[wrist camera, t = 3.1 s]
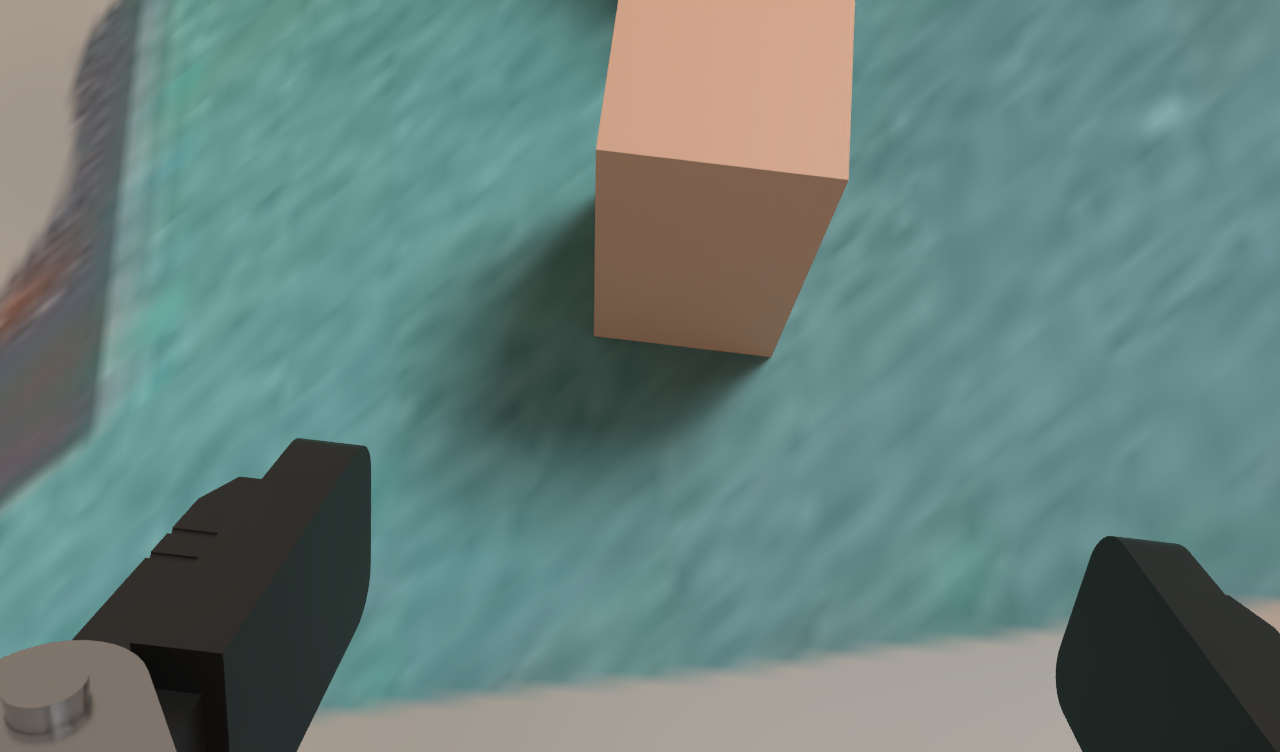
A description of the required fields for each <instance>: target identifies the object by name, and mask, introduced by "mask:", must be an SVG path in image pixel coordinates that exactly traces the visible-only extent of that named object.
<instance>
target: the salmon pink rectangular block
mask: <svg viewBox="0 0 1280 752" xmlns="http://www.w3.org/2000/svg"><path fill="white" fill-rule="evenodd" d="M854 13H855V0H618V6H617V12H616V19H615V26H614V32H613V39H612V46H611V53H610V59H609V66H608V73H607V79H606V86H605V93H604V100H603V106H602V113H601V120H600V126H599V133H598V140H597V147H596V196H595V282H594V336H597V337H606V338H614V339H622V340H631V341H639V342H648V343H656V344H664V345H673V346H681V347H690V348H698V349H706V350H715V351H723V352H732V353H740V354H748V355H757V356H765V357H771V356H772V354H773V352H774V350H775V347H776V345H777V343H778V340H779V338H780V336H781V333H782V331H783V329H784V327H785V324H786V322H787V320H788V317H789V315H790V313H791V311H792V308H793V306H794V304H795V301H796V299H797V297H798V294H799V292H800V290H801V288H802V285H803V283H804V281H805V278H806V276H807V274H808V272H809V269H810V267H811V265H812V262H813V260H814V258H815V256H816V253H817V251H818V249H819V246H820V244H821V242H822V239H823V237H824V235H825V233H826V230H827V228H828V226H829V223H830V221H831V219H832V217H833V214H834V212H835V210H836V207H837V205H838V203H839V200H840V198H841V196H842V194H843V191H844V189H845V187H846V184H847V182H848V180H849V152H850V124H851V96H852V69H853V41H854Z"/></svg>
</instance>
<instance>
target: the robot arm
mask: <svg viewBox="0 0 1280 752" xmlns="http://www.w3.org/2000/svg"><path fill="white" fill-rule="evenodd" d="M370 565H371V460H370V454H369V451H368V449H367V447H365V446H361V445H352V444H344V443H335V442H327V441H319V440H310V439H302V438H297V439H295V440H293V441H292V443H291V444H290V445H289V446H288V447H287V449H286V450H285V451H284V452H283V453H282V455H281V456H280V457H279V458H278V460H277V461H276V462H275V463H274V465H273V466H272V467H271V468H270V470H269V471H268V472H267V473H266V475H265V476H264V477H263V478H262V479H255V478H247V477H238V478H236V479H234V480H232V481H231V482H229V483H227V484H225V485H223V486H221V487H219V488H218V489H216V490H214V491H212V492H210V493H208V494H206V495H205V496H203V497H201V498H199V499H198V500H197V501H196V502H195V503H194V504H193V505H192V506H191V508H190V509H189V510H188V511H187V512H186V513H185V514H184V515H183V516H182V518H181V519H180V520H179V521H178V522H177V523H176V524H175V525H174V527H173V529H172V533H171V534H169V533H167V534H166V535H165V537H164V538H163V539H162V540H161V541H160V542H159V543H158V544H157V546H156V547H155V548H154V549H153V550H152V551H151V556H150V558H145V559H144V560H143V561H142V562H141V563H140V565H139V566H138V567H137V568H136V569H135V570H134V571H133V572H132V573H131V575H130V576H129V577H128V578H127V579H126V580H125V581H124V582H123V584H122V585H121V586H120V587H119V588H118V589H117V590H116V591H115V592H114V594H113V595H112V596H111V597H110V598H109V599H108V600H107V601H106V603H105V604H104V605H103V606H102V607H101V608H100V609H99V610H98V611H97V613H96V614H95V615H94V616H93V617H92V618H91V619H90V620H89V622H88V623H87V624H86V625H85V626H84V627H83V628H82V629H81V630H80V632H79V633H78V634H77V635H76V636H75V637H74V638H73V639H72V640H70V641H61V642H53V643H48V644H43V645H39V646H35V647H31V648H28V649H25V650H21V651H18V652H16V653H13V654H11V655H8V656H6V657H3V658H1V659H0V752H297V750H298V747H299V746H300V743H301V741H302V739H303V737H304V735H305V733H306V731H307V729H308V727H309V725H310V723H311V721H312V719H313V717H314V715H315V713H316V711H317V709H318V707H319V705H320V703H321V701H322V698H323V696H324V694H325V692H326V690H327V688H328V686H329V684H330V682H331V680H332V678H333V676H334V674H335V672H336V670H337V668H338V666H339V664H340V662H341V660H342V658H343V655H344V653H345V651H346V649H347V647H348V645H349V643H350V641H351V639H352V637H353V635H354V633H355V631H356V629H357V627H358V624H359V622H360V619H361V617H362V613H363V610H364V606H365V603H366V598H367V593H368V587H369V580H370ZM1056 688H1057V694H1058V700H1059V703H1060V706H1061V709H1062V711H1063V713H1064V715H1065V717H1066V719H1067V721H1068V724H1069V726H1070V727H1071V729H1072V731H1073V733H1074V736H1075V738H1076V740H1077V742H1078V744H1079V746H1080V748H1081V750H1082V751H1083V752H1280V634H1279V632H1278V631H1277V630H1276V629H1275V628H1274V627H1272V626H1271V625H1270V624H1268V623H1267V622H1265V621H1264V620H1263V619H1261V618H1260V617H1259V616H1257V615H1256V614H1254V613H1253V612H1251V611H1250V610H1249V609H1247V608H1246V607H1244V606H1243V605H1242V604H1240V603H1239V602H1237V601H1236V600H1235V599H1233V598H1232V597H1230V596H1229V595H1225V594H1224V593H1223V591H1222V590H1221V589H1220V588H1219V587H1218V586H1217V584H1216V583H1215V582H1214V581H1213V580H1212V578H1211V577H1210V576H1209V575H1208V574H1207V572H1206V571H1205V570H1204V569H1203V568H1202V566H1201V565H1200V564H1199V563H1198V562H1197V561H1196V559H1195V558H1194V557H1193V556H1192V555H1191V553H1190V552H1189V551H1188V550H1187V549H1186V548H1185V547H1183V546H1181V545H1179V544H1174V543H1166V542H1157V541H1149V540H1140V539H1132V538H1123V537H1115V536H1107V537H1105V538H1103V539H1102V540H1101V541H1099V543H1098V544H1097V545H1096V547H1095V548H1094V550H1093V552H1092V555H1091V557H1090V560H1089V563H1088V566H1087V569H1086V572H1085V575H1084V578H1083V581H1082V584H1081V587H1080V590H1079V593H1078V596H1077V599H1076V601H1075V604H1074V607H1073V610H1072V613H1071V616H1070V619H1069V622H1068V625H1067V628H1066V631H1065V634H1064V637H1063V640H1062V643H1061V646H1060V649H1059V652H1058V657H1057V664H1056Z"/></svg>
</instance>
